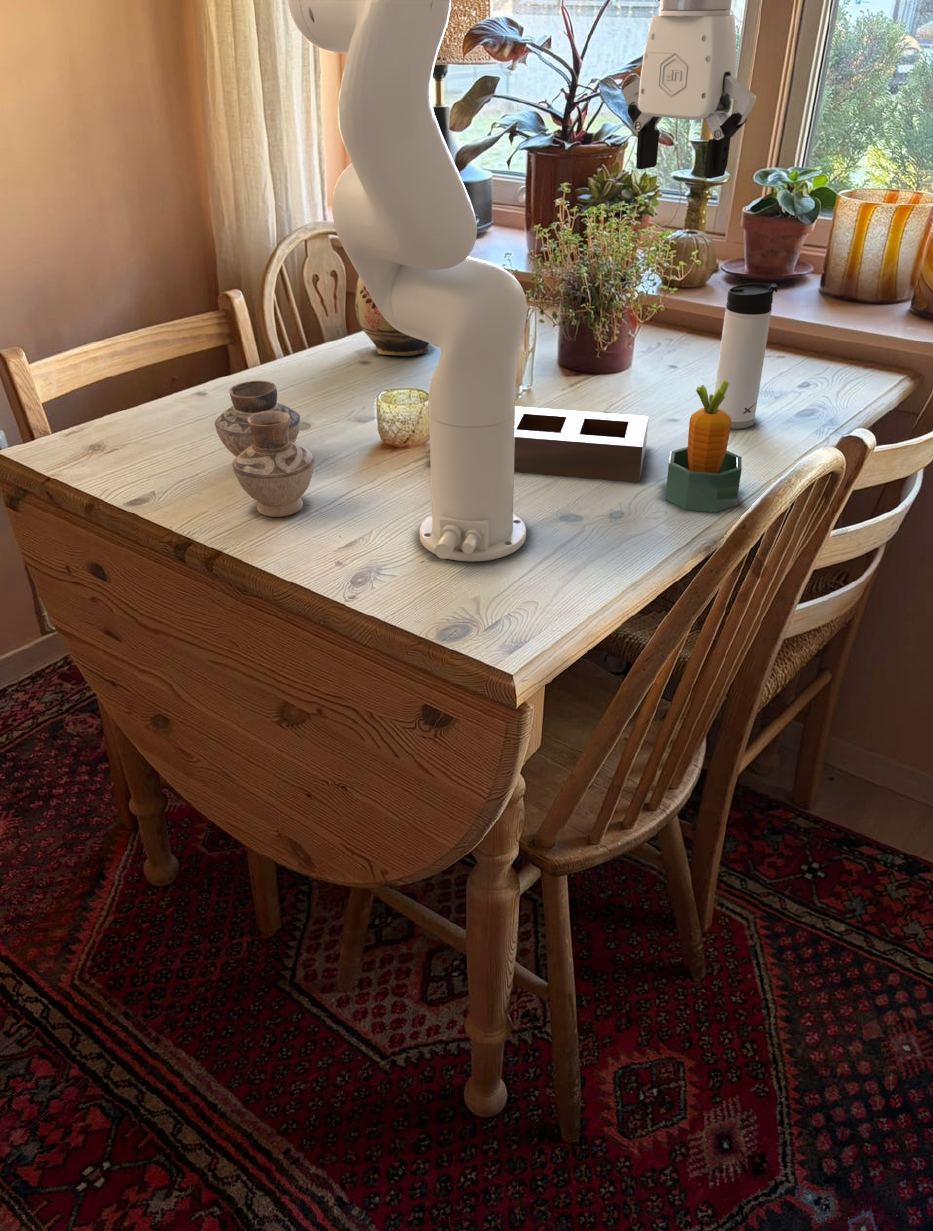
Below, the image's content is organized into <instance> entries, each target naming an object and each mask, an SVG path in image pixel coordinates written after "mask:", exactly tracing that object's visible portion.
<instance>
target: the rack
mask: <svg viewBox="0 0 933 1231" xmlns="http://www.w3.org/2000/svg"><path fill="white" fill-rule="evenodd" d="M649 418H650V417H649V416H648V415H647V416H646V415H637V414H621V413H607V412H595V411H581V410H567V409H556V408H554V409H553V408H542V407H541V408H540V407H526V406H515V449H514V473H515V472H516V473H525V474H539V475H547V476H549V475H550V476H561V477H572V478H583V479H593V480H594V479H595V480H608V481H617V482H618V481H620V482H628V483H629V482H631V483H640V481H641V475H642V469H643V466H644V460H645V456H646V449H647V438H648V427H649V420H650V419H649Z"/></svg>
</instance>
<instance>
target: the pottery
mask: <svg viewBox="0 0 933 1231" xmlns="http://www.w3.org/2000/svg"><path fill="white" fill-rule="evenodd" d="M228 392H229V396H230V400H231V403H232V406H230V407H228V408H227V409H226V410H224V411H223V412H222V413H221V414H220V415H219V416H217V418H216V419H215V421H214V428H215V431H216V434H217V436H218V438H219V440H220V442H221V443H222V444H223V446H224V447H225V449H227V450H228V451H229V452H230V453H231V454H232V455H233V456H235V458H234V460H233V461H232V464H231V465H232V469H233V470H232V471H233V473H234V475H235V476H236V479H237V481H238V483H239V485H240V486H241V488H242V489H243V490H244V492H245V493H246V494H247V495H248V496H249V497H251V498H252V499H253V500H255V501H256V502H257V504H256V510H257V512H258V513H259V514H261V515H263V516H266V517H271V518H280V517H281V518H283V517H288V516H291V515H293V514H295V513H298V512H299V511H300V510H302V509H303V506H304V501H303V499H302V496H303V495H304V494H305V493H306V491H307V490H308V488H309V486H310V484H311V481H312V476H313V473H314V467H315V455H314V454H313V453H312V451H310V450H309V449H307V448H306V447H304V446H302V445H300V444H297V443H296V441H297V438H298V436H299V433H300V427H301V416H300V414H299V413H298V412H297V411H296V410H294V409H293V408H291V407H290V406H287V405H285V404H282V403H280V402H278V389H277V385H276V384H275V383H274V382H271V381H267V380H249V381H244V382H239V383H237V384H235V385H233V386H231V387H229V389H228Z"/></svg>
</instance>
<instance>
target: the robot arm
mask: <svg viewBox="0 0 933 1231" xmlns="http://www.w3.org/2000/svg"><path fill="white" fill-rule="evenodd" d="M654 1H655V2H657V3H659V14H654V15H652V19H651V22H650V25H649V29H648V33H647V36H646V40H645V41H646V42H645V47H644V53H643V58H642V64H641V71H640V77H638V78H637V79H636V80H634V81H632V82H631V83H629V84H627V85H626V86H625V87H624V88H623V89H622V93H623V97H624V100H625V104H626V107H627V115H628V116H629V118H630V120H631V121H632V123H633V131H635V132H636V133H637V140H636V154H635V156H636V157H635V158H636V162H635V168H636V169H637V170H645V169H651V168H655V167H656V166H657V164H658V154H659V141H660V129H656V127H657V126H658V125H659V123H660V122H661V120H662V119H663V118H667V119H677V120H687V121H689V120H690V121H699V120H700V121H701V120H704V121H705V122H706V125H707V128H708V129H709V131H710V133H711V135H712V137H713V138H710V139H708V141H707V147H706V154H705V164H704V171H703V172H704V173H703V176H704V178H705V179H715V178H720V177H724V176H725V173H726V169H727V167H728V162H729V154H730V146H731V138H735V136H736V134H737V132H738V131H739V130H740V129H741V128H742V127H743V126H744V125H745V124H746V122H747V120H748V116H750V113H751V112H752V110H753V108H754V107H755V104H756V103H757V95H756V94H754V92H752V91H751V90H749V89H748V88H747V87H746V86H745V85H744V84H742V83H741V82H740V81H738V80H737V79H736V62H737V32H736V20H735V19H736V18H735V15H734V14H731V9H732V1H733V0H654ZM287 3H288V8H289V12H290V17H291V18H292V20H293V23H294V25H295V27H296V28H297V30H298V31H299V33H300V34H301V35H302V37H304V38H305V40H306V41H307V42H308V43H310V44H312V46H314V47H317V48H318V49H320V50H322V51H326V52H329V53H334V54H346V59H345V63H344V68H343V72H342V77H341V82H340V87H339V94H338V101H337V123H338V129H339V133H340V138H341V141H342V143H343V146H344V148H345V151H346V153H347V155H348V157H349V160H350V162H351V163H350V164H349V165H348V166H346V167H345V169H344V170H343V171H342V172H341V174H340V175H339V177H338V178H337V180H336V183H335V186H334V189H333V194H332V200H331V201H332V202H331V213H332V219H333V225H334V229H335V233H336V236H337V238H338V240H339V243H340V244H341V246H342V247H343V250H344V252H345V254H346V256H347V257H348V259H349V261H350V263H351V265H352V266H353V268H354V270H355V271H356V273H357V275H358V278H359V277H360V279H361V280H362V282H363V284H364V286H365V287H366V289H367V291H368V293H369V294H370V296H371V298H372V300H373V301H374V303H375V305H376V306H377V308H378V310H379V311H380V313H381V314H382V315H383V317H384V318H385V319H386V320H387V322H388V323H389V324H390V325H391V326H392V327H394V328H395V329H396V330H398V331H400V332H402V333H404V334H406V335H408V336H411V337H414V338H417V339H419V340H422V341H425V342H428V343H429V344H431V345H433V346H435V347H437V348H440V356H439V360H438V363H437V366H436V367H435V369H434V372H433V374H432V376H431V379H430V382H429V387H428V395H427V396H428V397H427V399H428V400H427V401H428V403H427V404H428V419H429V420H428V424H429V425H428V426H429V427H428V428H429V429H428V430H429V456H430V457H429V458H430V459H429V462H430V492H431V493H430V494H431V495H430V496H431V514H430V515H429V516H427V517H426V518H425V519H424V520H422V522H421V524H420V526H419V541H420V544H421V545H422V546H423V547H424V548H425V549H426V550H427V551H429V552H430V553H431V554H434V555H436V557H438V558H439V559H443V560H446V559H447V560H453V561H459V562H487V561H492V560H496V559H500V558H504V557H506V556H509V555H511V554H512V553H515V552H516V551H517V550H519V549H520V548H521V547H522V546H523V545H524V543H525V542H526V538H527V527H526V524H525V522H524V521H523V520H522V519H521V518H520V517H519V516H518V515H517V514H514V500H515V499H514V498H515V494H514V493H515V492H514V491H515V489H514V488H515V472H514V449H515V407H516V392H517V390H516V389H517V388H516V387H517V374H518V373H517V372H518V365H519V364H518V363H519V356H520V351H521V346H522V342H523V338H524V333H525V328H526V324H527V316H528V302H527V297H526V294H525V290H524V289H523V287H522V285H521V283H520V282H519V280H518V279H517V278H516V277H515V276H514V274H512V273H511V272H509V271H508V270H506V269H505V268H504V267H501V266H499V265H498V264H495V263H492V262H490V261H487V260H484V259H479V258H477V257H471V256H470V254H471V253H472V251H473V249H474V246H475V244H476V241H477V235H478V224H477V218H476V213H475V210H474V207H473V203H472V201H471V198H470V196H469V194H468V191H467V188H466V186H465V184H464V182H463V180H462V177H461V176H460V173H459V170H458V167H457V166H456V163H455V162H454V159H453V157H452V154H451V152H450V149H449V148H448V145H447V143H446V140H445V138H444V136H443V134H442V131H441V128H440V125H439V122H438V120H437V116H436V115H435V110H434V107H433V102H432V80H433V74H434V69H435V64H436V61H437V56H438V54H439V50H440V47H441V44H442V41H443V39H444V35H445V32H446V29H447V26H448V22H449V18H450V14H451V5H452V0H287ZM733 100H734V101H735V102H736V105H735V108H734V111H733V113H732V114H729V112H730V110H731V107H732V102H733Z"/></svg>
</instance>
